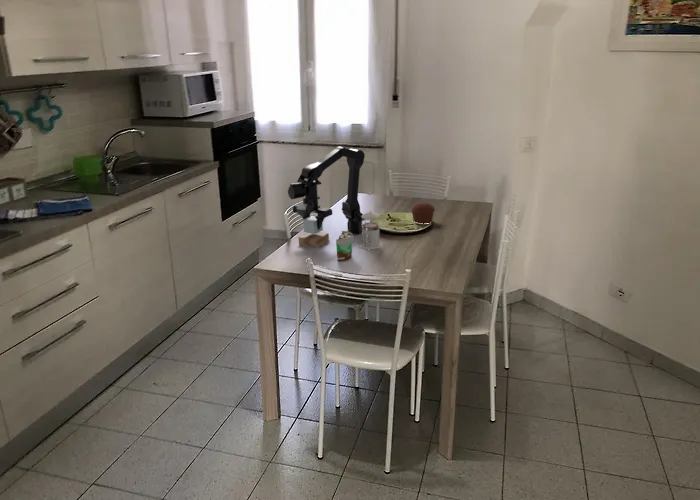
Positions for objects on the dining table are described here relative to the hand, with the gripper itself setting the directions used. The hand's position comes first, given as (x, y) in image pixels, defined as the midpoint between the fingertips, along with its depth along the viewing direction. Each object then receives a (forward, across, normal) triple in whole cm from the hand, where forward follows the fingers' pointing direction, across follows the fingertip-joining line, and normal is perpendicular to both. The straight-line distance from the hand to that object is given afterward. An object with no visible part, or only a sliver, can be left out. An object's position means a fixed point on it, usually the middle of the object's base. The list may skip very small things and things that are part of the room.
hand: (313, 228), depth 263 cm
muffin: (+7, +29, +51) cm, 59 cm away
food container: (+7, +24, -8) cm, 26 cm away
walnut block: (+7, 0, 0) cm, 7 cm away
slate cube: (+1, 0, 0) cm, 1 cm away
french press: (+7, +24, +10) cm, 27 cm away
